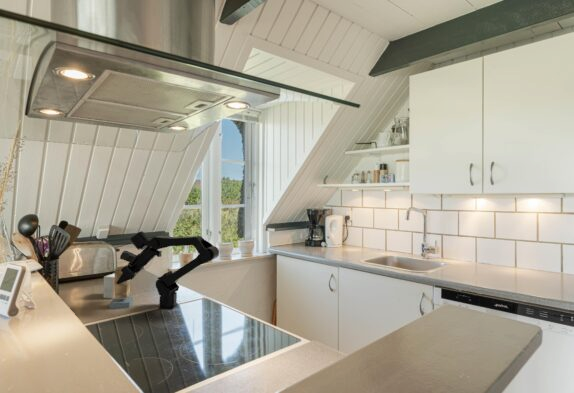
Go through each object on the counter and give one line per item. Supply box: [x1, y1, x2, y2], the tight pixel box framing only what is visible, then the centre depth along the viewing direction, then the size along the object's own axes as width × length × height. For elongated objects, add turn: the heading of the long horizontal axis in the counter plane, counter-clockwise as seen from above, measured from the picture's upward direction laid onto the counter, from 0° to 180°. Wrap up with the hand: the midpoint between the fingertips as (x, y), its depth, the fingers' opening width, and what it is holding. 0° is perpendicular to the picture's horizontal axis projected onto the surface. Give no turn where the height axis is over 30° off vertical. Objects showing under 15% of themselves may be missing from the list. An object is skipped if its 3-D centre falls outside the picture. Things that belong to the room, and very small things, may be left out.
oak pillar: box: [114, 266, 131, 298], centre depth 157 cm, size 5×5×13 cm
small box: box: [103, 272, 115, 300], centre depth 170 cm, size 8×6×10 cm
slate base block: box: [109, 296, 134, 310], centre depth 157 cm, size 8×8×3 cm
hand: (119, 281), depth 156 cm, fingers closed on oak pillar, 5 cm apart
